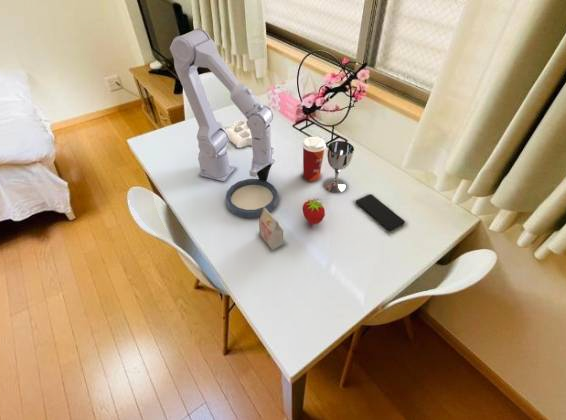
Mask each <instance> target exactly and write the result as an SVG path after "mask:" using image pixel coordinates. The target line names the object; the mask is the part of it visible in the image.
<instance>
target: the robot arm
mask: <svg viewBox="0 0 566 420" xmlns="http://www.w3.org/2000/svg"><path fill="white" fill-rule="evenodd" d="M169 51H170V53H171V55H172V58H173V65H174V70H175V72H176V75H177V77H178V80H179V81H180V84H181V86H182V89H183V91H184V94H185V96H186V99H187V101H188V103H189V105H190V108H191V111H192V113H193V115H194V118H195V120H196V123H197V126H198V129H197V130H198V131H197V134H196V140H197V143H198V149H199V152H198V159H197V160H198V164H199V168H200V169H199V170H200V173H199V174H200V176H201V177H205V178H210V179H212V180H217V181H220V182H225V181H226V180H227V178H229V176H230V175H231V174H232V173H233V172H234V170H235V167H233V166H230V163H229V156H228V151H227V149H228V148H227V147H228V146H227V144H228V143H229V142H230V141H229V135H228V133H227V132H226V131H225V130H226V129H225V128H224V126H223V123H222V122H218V121H217V120H216V117H215V115H214V112H213V110H212V107H211V104H210V101H209V99H208V96H207V93H206V90H205V89H204V88H205V87H204V86H203V83H202V80H201V78H200V74H199V72H198V68H204V69H208V70H209V71H210V72H211V74H213V75H214V76H215V77H216V78H217V80H218V81H220V82H221V83H222V85H223V86H224V87H225V88H226V89H227V90H228V91H229V97H230V101H232V102H233V104H234V106H235V107H237V109H238V110H239V111H240V113H241V114H242V115H243V116H244V117H245V119H246V120H247V121H246V124H247V126H248V128H249V129H250V131H251V137H252V146H251V150H252V161H251V167H250V169H249V176H250V177H253V178H257V179H260V180H265V181H267V182H268V177H269V173H270V170H271V167H272V166H273V165H274V163H275V162H276V161H275V159H274V158H273V154H274V153H275V151H274V147H272V138H271V137H272V135H271V134H272V133H271V123H272V122H273V120H274V113H273V111H272V109H271V107H269V106H268V105H266V104H263V103H262V102H261V101H259V99H258V98H257V97H256V95H255V94H254V93H253V90H252V88H250V87H248V86H247V84H243V83H240V81H239V80H238V79H237V77H236V76H235V75H234V73H233V72H232V71H231V69H230V67H229V66H228V65H227V63H226V62H225V60H224V59H223V57H222V55H221V54H220V53H219V52H218V48H217V44H216V42H215V41H214V40H213V39H212V38H211V36H210V35H209V33H208V32H207V31H206V29H205V30H204V29H203V28H200V27H197V28H194V29H193V30H192V31H189V32H187V33H185V34H182V35H178V36H175V37H174V38H173V40H172V42H171V44H170V46H169Z"/></svg>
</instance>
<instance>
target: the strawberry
mask: <svg viewBox="0 0 566 420" xmlns="http://www.w3.org/2000/svg"><path fill="white" fill-rule="evenodd" d="M318 199H319V198H317V199H316V200H315V198H313V199H307V201H304V203H303V205H302V208H301V210H302V214H303V217H304V218H305V220H306V221H307V222H308V223H309V225H311V226H315V225H318V224H319V223H321V222H322V221H323V220H324V218H325V216H326V211H325V207H324V206H323V204H324V201H323V202H321V201H318Z"/></svg>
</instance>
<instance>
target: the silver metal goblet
mask: <svg viewBox="0 0 566 420" xmlns="http://www.w3.org/2000/svg"><path fill="white" fill-rule="evenodd" d="M354 151H355V147H354V146H353V145H352V144H351V143H349V142H347V141H343V140H335V141H332V142H330V143H329V144H328V146H327V154H326V155H327V163H328V165H329V166H330V168H331V169H332V170H333V171H334V178H331V179H328V180H326V181H325V182H324V188H325V189H326V190H327V191H329V192H331V193H336V194H337V193H338V194H339V193H342V192H344V191H345V190H346V184H345V183H344V181H342V180H340V179H338V177H339V174H340V173H341V172H342V171H343V170H345V169H346V168H348V167H349V165H350V164H351V161H352V159H353V156H354V153H355V152H354Z"/></svg>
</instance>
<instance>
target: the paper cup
mask: <svg viewBox="0 0 566 420" xmlns="http://www.w3.org/2000/svg"><path fill="white" fill-rule="evenodd" d="M301 146H302V155H303V156H302V161H303V162H302V168H303V169H302V170H303V171H302V172H303V173H302V175H303V179H304V180H306V181H308V182H317V181H318V180H319V179H320V176H321V171H322V166H323V160H324V154H325V149H326V148H327V144H326V141H325V140H324V139H323V138H321V137H320V136H308V137H306V138H304V140H303V142H302V144H301Z"/></svg>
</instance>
